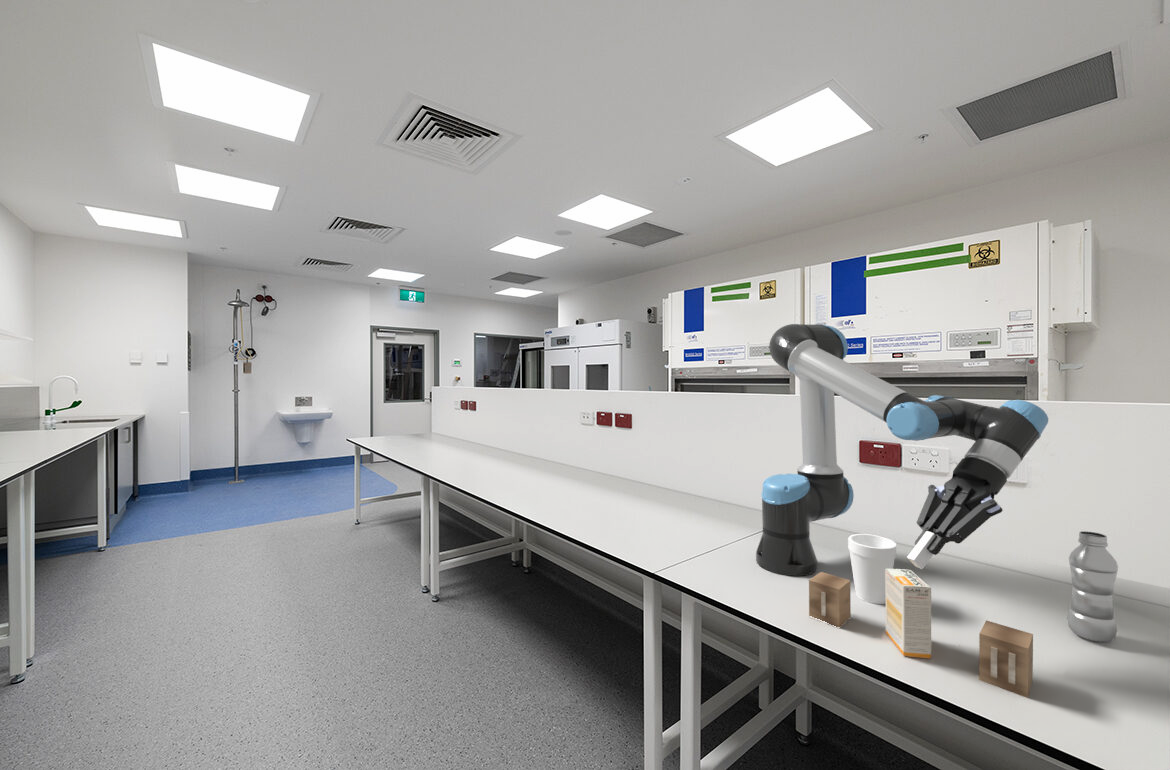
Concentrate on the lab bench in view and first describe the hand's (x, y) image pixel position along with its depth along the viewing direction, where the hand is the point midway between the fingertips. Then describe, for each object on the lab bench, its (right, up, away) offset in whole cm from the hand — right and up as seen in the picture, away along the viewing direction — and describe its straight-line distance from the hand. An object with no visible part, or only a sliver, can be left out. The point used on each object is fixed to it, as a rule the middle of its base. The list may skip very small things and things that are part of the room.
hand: (914, 563), depth 88 cm
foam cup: (+4, -16, +20) cm, 26 cm away
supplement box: (-1, -16, +1) cm, 16 cm away
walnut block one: (-10, -16, +12) cm, 22 cm away
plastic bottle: (+36, -15, +3) cm, 39 cm away
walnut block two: (+9, -16, -9) cm, 21 cm away
